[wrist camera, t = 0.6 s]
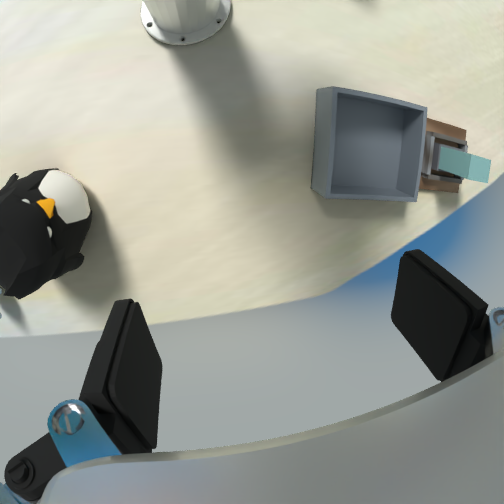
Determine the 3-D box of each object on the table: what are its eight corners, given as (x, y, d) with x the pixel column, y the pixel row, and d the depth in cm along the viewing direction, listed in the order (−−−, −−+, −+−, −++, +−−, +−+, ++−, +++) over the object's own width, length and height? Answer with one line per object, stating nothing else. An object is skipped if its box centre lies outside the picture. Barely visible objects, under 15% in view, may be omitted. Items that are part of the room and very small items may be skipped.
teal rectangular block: (430, 141, 43) (470, 151, 34) (454, 147, 44) (492, 158, 35) (427, 167, 45) (465, 181, 36) (451, 171, 46) (488, 185, 37)
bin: (316, 89, 38) (332, 86, 33) (405, 106, 41) (427, 107, 36) (310, 188, 45) (325, 198, 40) (396, 192, 47) (416, 202, 42)
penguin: (123, 221, 43) (86, 278, 27) (59, 281, 45) (19, 345, 30) (55, 135, 35) (-14, 152, 20) (-1, 208, 37) (-61, 250, 22)
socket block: (416, 115, 42) (427, 117, 39) (462, 129, 44) (473, 131, 41) (409, 186, 47) (419, 190, 45) (454, 191, 49) (464, 195, 47)
